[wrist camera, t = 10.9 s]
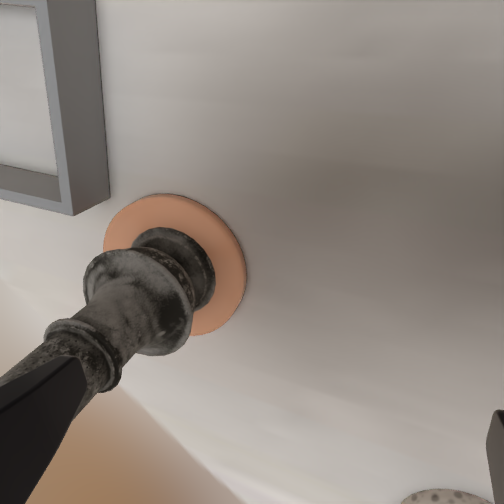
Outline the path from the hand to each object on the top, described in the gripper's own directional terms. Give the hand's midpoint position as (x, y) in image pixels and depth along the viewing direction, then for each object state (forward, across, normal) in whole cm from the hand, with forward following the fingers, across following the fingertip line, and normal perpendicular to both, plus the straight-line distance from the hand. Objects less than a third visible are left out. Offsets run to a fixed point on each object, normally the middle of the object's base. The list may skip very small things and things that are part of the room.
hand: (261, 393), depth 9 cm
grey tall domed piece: (+12, +8, +4) cm, 15 cm away
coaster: (+12, +8, +4) cm, 15 cm away
